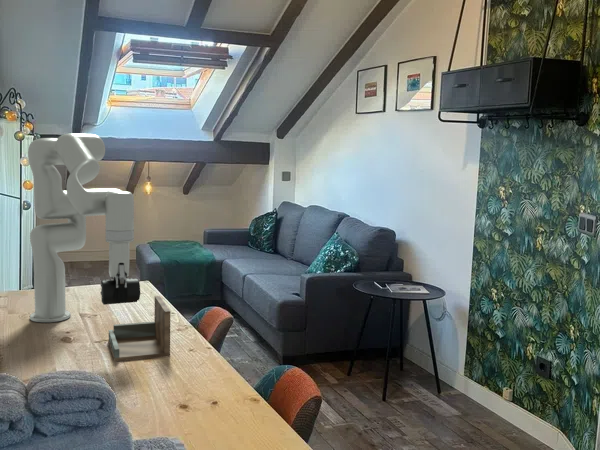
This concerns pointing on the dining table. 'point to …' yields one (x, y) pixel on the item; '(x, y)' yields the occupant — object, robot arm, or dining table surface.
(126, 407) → the dining table surface
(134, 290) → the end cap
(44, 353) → the dining table surface
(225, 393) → the dining table surface
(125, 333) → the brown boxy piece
